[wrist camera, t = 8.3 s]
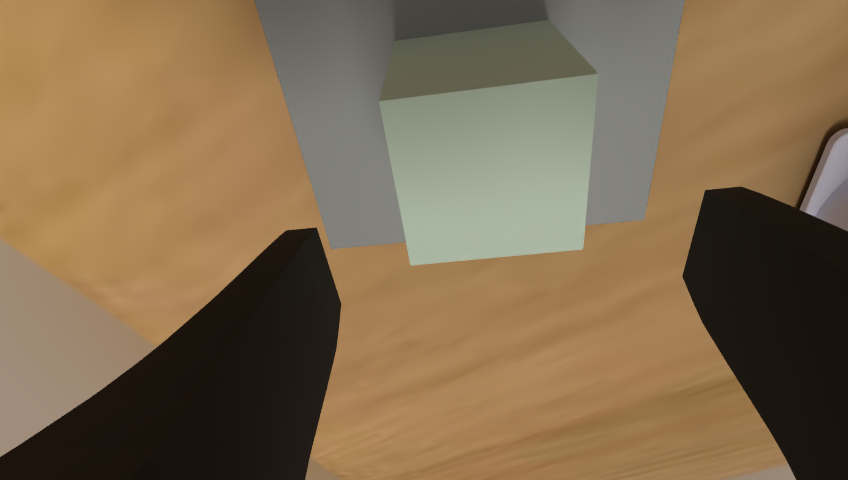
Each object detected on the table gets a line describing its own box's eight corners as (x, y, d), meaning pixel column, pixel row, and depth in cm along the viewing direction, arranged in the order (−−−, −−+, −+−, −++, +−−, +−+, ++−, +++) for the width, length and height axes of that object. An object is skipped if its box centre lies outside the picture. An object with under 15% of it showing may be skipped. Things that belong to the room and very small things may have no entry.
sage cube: (548, 19, 13) (598, 73, 9) (545, 160, 16) (583, 249, 12) (394, 41, 14) (378, 101, 10) (416, 174, 16) (410, 265, 12)
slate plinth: (671, -112, 13) (705, -113, 12) (626, 192, 19) (644, 219, 17) (262, -50, 14) (241, -43, 13) (339, 220, 20) (331, 249, 18)
